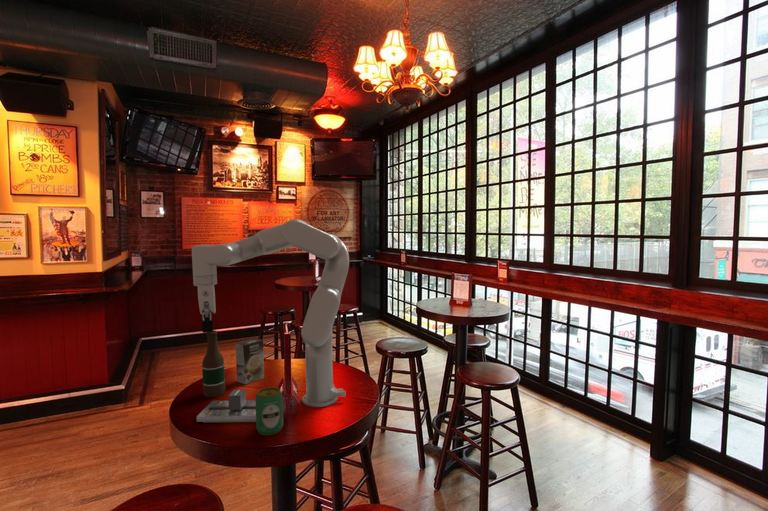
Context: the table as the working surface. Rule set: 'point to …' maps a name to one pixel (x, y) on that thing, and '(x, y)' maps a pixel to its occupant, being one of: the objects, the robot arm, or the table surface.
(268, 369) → the table surface
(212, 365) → the beer bottle
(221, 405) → the console
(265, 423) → the beverage can
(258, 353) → the coffee box
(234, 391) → the fader cap
